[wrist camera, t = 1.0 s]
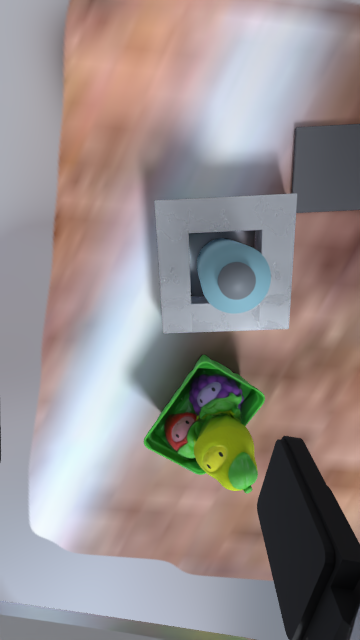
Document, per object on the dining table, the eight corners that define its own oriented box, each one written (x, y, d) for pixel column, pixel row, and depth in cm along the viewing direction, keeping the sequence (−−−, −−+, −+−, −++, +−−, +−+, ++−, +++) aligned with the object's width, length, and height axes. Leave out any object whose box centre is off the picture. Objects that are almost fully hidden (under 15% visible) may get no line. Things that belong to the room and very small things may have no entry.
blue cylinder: (247, 237, 30) (274, 243, 21) (246, 287, 31) (271, 314, 22) (195, 239, 30) (200, 246, 21) (197, 289, 32) (202, 317, 22)
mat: (376, 124, 27) (379, 122, 26) (366, 209, 29) (368, 209, 29) (295, 128, 27) (297, 127, 27) (290, 213, 29) (291, 213, 29)
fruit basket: (199, 338, 33) (206, 393, 22) (266, 378, 34) (302, 448, 24) (146, 414, 36) (129, 496, 25) (209, 449, 37) (218, 540, 27)
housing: (286, 196, 29) (297, 193, 26) (279, 319, 32) (288, 328, 29) (157, 202, 29) (154, 200, 26) (165, 323, 33) (163, 333, 30)
